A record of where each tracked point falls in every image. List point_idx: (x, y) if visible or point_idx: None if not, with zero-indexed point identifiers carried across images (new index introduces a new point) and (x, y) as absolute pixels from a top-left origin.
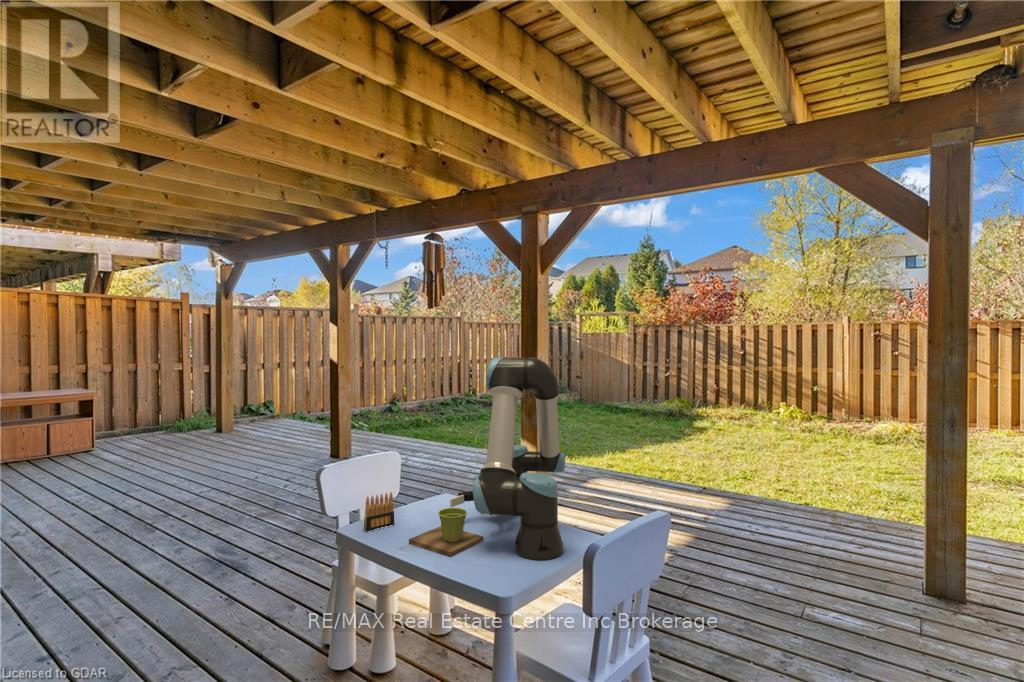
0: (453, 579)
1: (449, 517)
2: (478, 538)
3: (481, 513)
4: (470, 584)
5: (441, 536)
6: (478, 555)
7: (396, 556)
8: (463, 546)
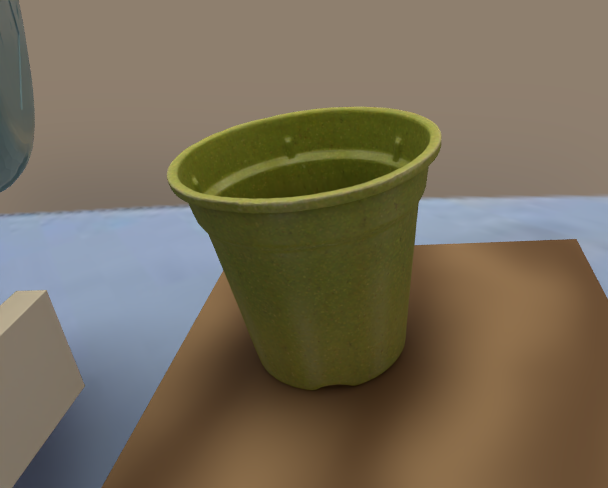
0: (142, 208)
1: (265, 121)
2: (134, 436)
3: (69, 375)
4: (74, 215)
5: (440, 336)
6: (94, 341)
7: (471, 198)
8: (199, 316)
